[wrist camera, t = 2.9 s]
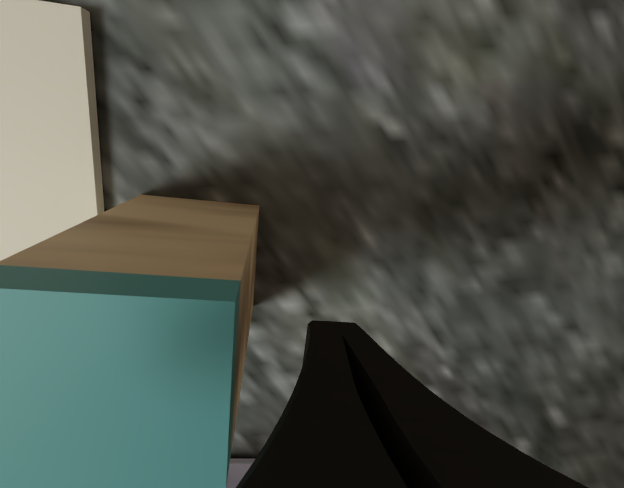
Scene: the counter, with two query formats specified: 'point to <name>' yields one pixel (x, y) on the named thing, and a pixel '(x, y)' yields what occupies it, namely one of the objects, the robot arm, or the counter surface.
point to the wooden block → (127, 347)
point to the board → (46, 123)
